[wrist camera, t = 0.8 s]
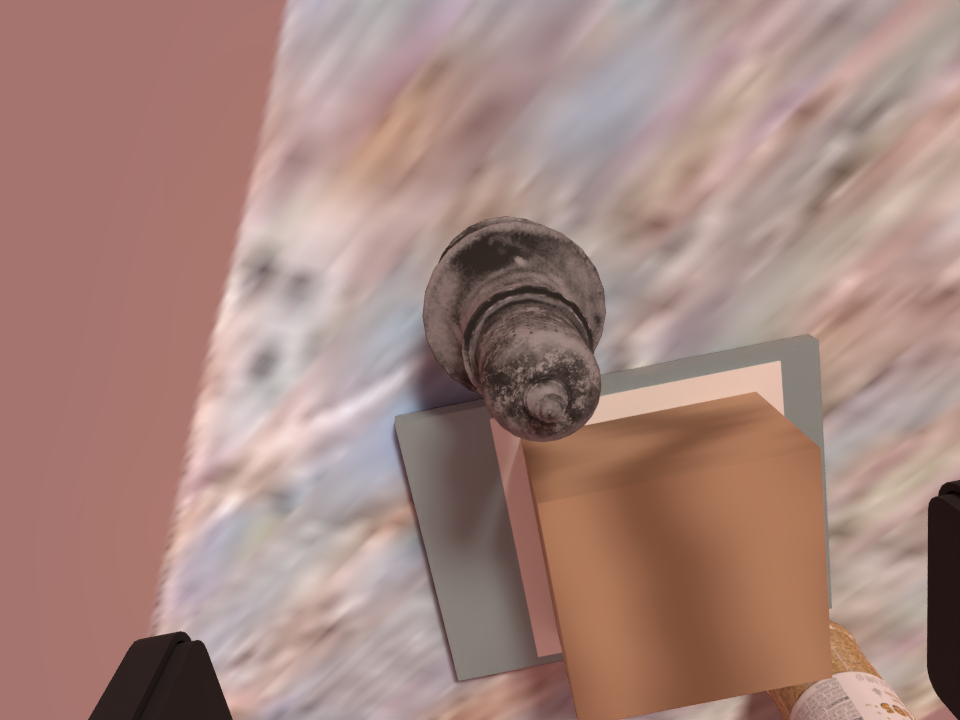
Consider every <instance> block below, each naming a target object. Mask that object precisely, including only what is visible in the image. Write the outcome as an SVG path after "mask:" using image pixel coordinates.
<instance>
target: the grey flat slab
mask: <svg viewBox="0 0 960 720" xmlns="http://www.w3.org/2000/svg"><path fill="white" fill-rule="evenodd" d="M600 377H601V393H600V398H599V403H598V405H597V407H596V409H595V412H594V414H593V416H592V417H591V418H590V419H589V420H588V421H587V423H586V424H585V425H590V424H595V423H600V422H605V421H610V420H615V419H620V418H625V417H630V416H635V415H640V414H645V413H650V412H655V411H660V410H665V409H670V408H675V407H680V406H686V405H691V404H696V403H701V402H706V401H711V400H716V399H721V398H726V397H731V396H736V395H741V394H746V393H751V392H757V393H758V394H760V395H761V396H762V397H763V398H764V399H765V400H766V401H768V402H769V403H770V404H771V405H772V406H773V407H774V408H776V409H777V410H778V411H779V412H780V413H781V414H782V415H784V416H785V417H786V418H787V419H788V420H789V421H790V422H792V423H793V424H794V425H795V426H796V427H797V428H798V429H800V430H801V431H802V432H803V433H804V434H805V435H806V436H808V437H809V438H810V439H811V440H812V441H813V442H814V443H816V444H817V445H818V446H819V447H820V448H821V464H822V484H823V504H824V524H825V543H826V563H827V583H828V603H829V609H830V608H832V602H831V582H830V561H829V541H828V520H827V500H826V479H825V459H824V438H823V418H822V398H821V377H820V357H819V340H818V339H816V338H814V337H813V336H811V335H809V334H807V335H802V336H797V337H792V338H787V339H782V340H777V341H771V342H766V343H761V344H756V345H751V346H746V347H741V348H736V349H731V350H726V351H721V352H716V353H711V354H706V355H701V356H696V357H691V358H686V359H681V360H676V361H671V362H666V363H661V364H656V365H651V366H646V367H641V368H636V369H631V370H626V371H620V372H615V373H610V374H605V375H600ZM395 428H396V432H397V436H398V440H399V444H400V448H401V452H402V456H403V460H404V464H405V468H406V472H407V476H408V480H409V484H410V489H411V493H412V497H413V501H414V505H415V509H416V513H417V517H418V521H419V525H420V529H421V533H422V537H423V541H424V545H425V549H426V553H427V557H428V561H429V565H430V569H431V573H432V577H433V581H434V585H435V589H436V593H437V597H438V601H439V605H440V609H441V613H442V617H443V621H444V625H445V629H446V633H447V637H448V641H449V645H450V649H451V653H452V657H453V661H454V665H455V669H456V673H457V677H458V681H461V680H466V679H471V678H476V677H481V676H486V675H491V674H497V673H502V672H507V671H512V670H517V669H522V668H527V667H532V666H538V665H543V664H548V663H553V662H558V661H563V660H564V658H563V654H562V649H561V645H560V640H559V636H558V631H557V626H556V621H555V616H554V611H553V605H552V600H551V595H550V590H549V584H548V579H547V574H546V569H545V563H544V558H543V553H542V548H541V543H540V537H539V532H538V527H537V522H536V516H535V511H534V506H533V501H532V496H531V490H530V485H529V480H528V475H527V469H526V464H525V459H524V454H523V448H522V443H521V438H519V437H516V436H514V435H512V434H511V433H510V432H508V431H507V430H505V429H504V428H502V427H501V426H500V425H499V423H498V422H497V421H496V420H495V419H494V418H493V416H492V415H491V414H490V413H489V411H488V408H487V406H486V404H485V402H484V399H480V400H474V401H469V402H464V403H459V404H454V405H449V406H444V407H439V408H434V409H429V410H424V411H419V412H414V413H409V414H404V415H399V416H396V418H395Z"/></svg>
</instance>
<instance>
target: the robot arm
mask: <svg viewBox="0 0 960 720" xmlns="http://www.w3.org/2000/svg"><path fill="white" fill-rule="evenodd" d="M927 669H928V675H929V678H930V681H931V684H932V686H933V688H934V690H935V692H936V694H937V695H938V697H939V698H940V699H941V701H942V702H943V703H944V704H945V705H946V706H947V708H948V709H949V710H950V711H951V712H952V713H953V715H954V716H955V717H956V718H957V719H958V720H960V480H958V481H952V482H947V483H945V484H944V485H942V487H941V489H940V490H939V495H938V496H937V497H934V498H932V499H931V500H930V502H929V507H928V609H927ZM88 720H233V719H232V716H231V714H230V711H229V708H228V706H227V703H226V700H225V698H224V695H223V692H222V689H221V687H220V684H219V681H218V679H217V676H216V673H215V671H214V668H213V665H212V662H211V660H210V657H209V654H208V652H207V649H206V647H205V645H204V644H203V642H202V641H199V640H195V641H191V639H190V637H189V636H188V635H187V634H186V633H185V632H181V631H180V632H175V633H170V634H164V635H159V636H154V637H149V638H144V639H139V640H137V641H135V642H134V643H133V644H132V646H131V647H130V648H129V650H128V651H127V653H126V655H125V657H124V658H123V660H122V662H121V664H120V665H119V667H118V669H117V671H116V673H115V674H114V676H113V678H112V680H111V681H110V683H109V685H108V686H107V688H106V690H105V692H104V693H103V695H102V697H101V698H100V700H99V702H98V704H97V706H96V707H95V709H94V711H93V713H92V714H91V716H90V718H89V719H88Z"/></svg>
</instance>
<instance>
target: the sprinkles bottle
mask: <svg viewBox="0 0 960 720" xmlns="http://www.w3.org/2000/svg"><path fill="white" fill-rule="evenodd" d="M829 623H830V643H831V663H832V678H829V679H824V680H819V681H814V682H809V683H804V684H798V685H793V686H788V687H783V688H778V689H773V690H767V691H766V692H767V693H768V694H769V695H770V696H771V697H772V698H773V699H774V701H775V703H776V704H777V706H778V708H779V710H780V711H781V713H782V715H783V717H784V719H785V720H915V718H914V717H913V716H912V714H911V713H910V712H909V711H908V709H907V708H906V707H905V705H904V704H903V703H902V701H901V700H900V699H899V698H898V696H897V695H896V694H895V692H894V691H893V690H892V689H891V687H890V686H889V685H888V684H887V683H886V682H884V681H883V679H882V678H881V677H880V675H879V674H878V673H877V671H876V670H875V669H874V667H873V666H872V665H871V664H870V662H869V661H868V660H867V659H866V657H865V656H864V655H863V654H862V652H861V651H860V648H859V646H858V644H857V642H856V640H855V639H854V637H853V636H852V634H851V633H850V632H848V631H847V630H846V629H845V628H843V627H842V626H840V625H838V624H836V623H833V622H830V621H829Z"/></svg>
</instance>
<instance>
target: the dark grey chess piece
mask: <svg viewBox="0 0 960 720" xmlns="http://www.w3.org/2000/svg"><path fill="white" fill-rule="evenodd" d="M605 315H606V308H605V296H604V288H603V286H602V283H601V280H600V278H599V275H598V272H597V270H596V267H595V266H594V265H593V263H592V262H591V261H590V259H589V258H588V256H587V255H586V254H585V252H584V251H583V250H582V248H580V247H579V246H578V245H577V244H575V243H574V242H573V241H571V240H570V239H569V238H568V237H566V236H565V235H564V234H562V233H560V232H558V231H555V230H553V229H550V228H548V227H545V226H543V225H541V224H536V223H534V222H532V221H529V220H527V219H522V218H514V217H499V218H492V219H486V220H484V221H482V222H479V223H477V224H475V225H472V226H470V227H468V228H467V229H466V230H464V231H463V232H462V233H460V234H459V235H458V236H457V237H455V238H454V239H453V240H452V242H451V243H450V244H449V246H448V247H447V248H446V250H445V251H444V252H443V254H442V256H441V258H440V261H439V263H438V265H437V266H436V267H435V269H434V271H433V273H432V276H431V278H430V281H429V283H428V286H427V288H426V291H425V298H424V308H423V321H424V327H425V333H426V339H427V341H428V343H429V346H430V348H431V350H432V352H433V354H434V356H435V358H436V360H437V361H438V363H439V364H440V365H441V366H442V367H443V368H444V370H445V371H446V372H447V373H448V374H449V376H450V377H451V378H453V379H454V380H456V381H457V382H459V383H460V384H461V385H463V386H464V387H466V388H467V389H469V390H471V391H473V392H476V393H479V394H482V395H483V399H484V402H485V404H486V406H487V408H488V411H489V413H490V414H491V415H492V416H493V418H494V419H495V420H496V421H497V422H498V423H499V425H500V426H501V427H502V428H504V429H505V430H507V431H508V432H510V433H511V434H512V435H514V436H516V437H519V438H522V439H525V440H528V441H536V442H548V441H556V440H559V439H562V438H565V437H567V436H570V435H572V434H573V433H575V432H576V431H577V430H579V429H580V428H582V427H583V426H584V425H585V424H586V423H587V421H588V420H589V419H590V418H591V417H592V416H593V414H594V412H595V409H596V407H597V405H598V403H599V398H600V393H601V377H600V369H599V367H598V364H597V362H596V359H595V357H594V351H595V349H596V347H597V345H598V342H599V340H600V338H601V336H602V331H603V326H604V321H605Z"/></svg>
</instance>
